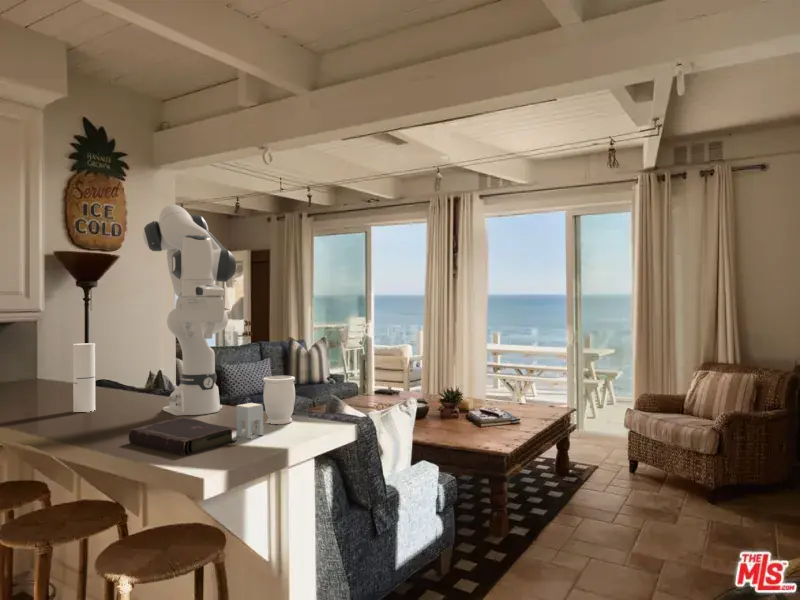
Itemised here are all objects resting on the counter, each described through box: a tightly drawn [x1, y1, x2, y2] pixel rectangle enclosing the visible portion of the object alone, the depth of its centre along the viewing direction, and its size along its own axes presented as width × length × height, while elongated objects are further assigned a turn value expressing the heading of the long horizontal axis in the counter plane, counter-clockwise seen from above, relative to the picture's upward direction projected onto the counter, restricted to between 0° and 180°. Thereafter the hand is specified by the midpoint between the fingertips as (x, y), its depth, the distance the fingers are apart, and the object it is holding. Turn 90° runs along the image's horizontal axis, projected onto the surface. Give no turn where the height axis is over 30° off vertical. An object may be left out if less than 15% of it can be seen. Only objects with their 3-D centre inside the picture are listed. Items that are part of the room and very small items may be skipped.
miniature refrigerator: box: [72, 342, 96, 413], centre depth 210 cm, size 7×7×25 cm
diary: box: [128, 416, 238, 457], centre depth 162 cm, size 19×25×5 cm
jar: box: [262, 375, 296, 425], centre depth 188 cm, size 11×10×15 cm
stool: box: [235, 402, 264, 439], centre depth 169 cm, size 6×6×9 cm
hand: (199, 338), depth 163 cm, fingers open, 8 cm apart
